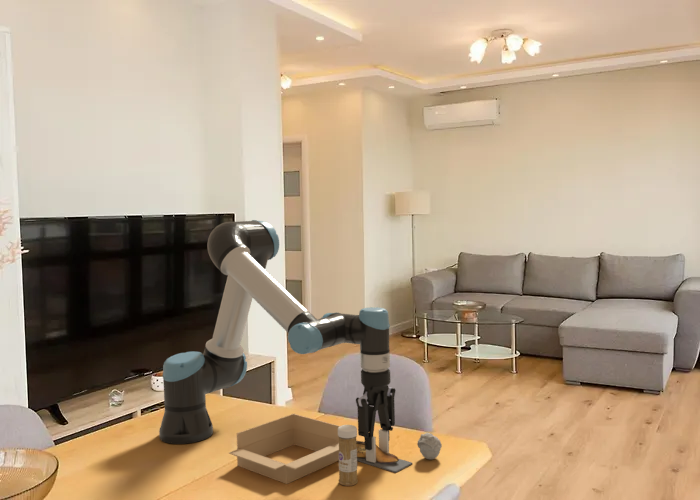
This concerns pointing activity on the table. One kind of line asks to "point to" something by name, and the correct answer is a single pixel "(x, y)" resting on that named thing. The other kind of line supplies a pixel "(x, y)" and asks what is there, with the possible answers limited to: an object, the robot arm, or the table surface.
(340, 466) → the sprinkles bottle
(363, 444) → the shoe last
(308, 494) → the table surface
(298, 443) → the carton
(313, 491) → the table surface
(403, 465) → the mat
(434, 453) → the grey rough lump
